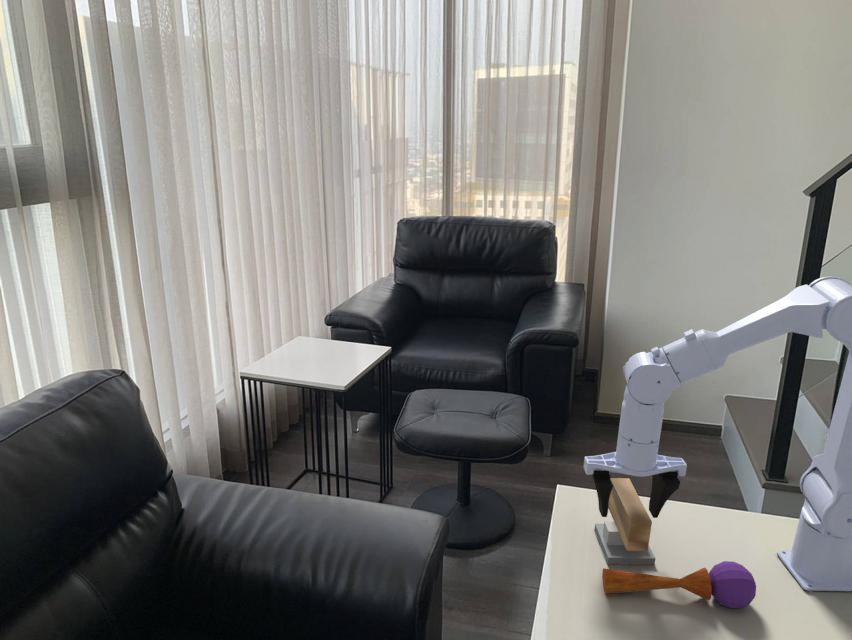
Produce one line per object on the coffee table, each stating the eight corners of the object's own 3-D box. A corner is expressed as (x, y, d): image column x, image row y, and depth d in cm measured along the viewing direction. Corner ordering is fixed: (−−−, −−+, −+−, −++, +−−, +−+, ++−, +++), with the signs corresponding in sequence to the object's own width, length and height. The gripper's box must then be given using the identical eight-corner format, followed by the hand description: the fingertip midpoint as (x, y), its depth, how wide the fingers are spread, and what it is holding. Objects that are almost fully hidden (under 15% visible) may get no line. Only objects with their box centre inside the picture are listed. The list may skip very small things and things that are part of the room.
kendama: (601, 550, 92) (746, 553, 89) (601, 588, 93) (745, 593, 90) (607, 572, 86) (763, 576, 83) (607, 613, 87) (762, 618, 84)
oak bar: (625, 505, 102) (629, 478, 101) (647, 550, 92) (652, 522, 90) (606, 504, 102) (610, 478, 101) (626, 550, 92) (631, 521, 90)
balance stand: (637, 530, 102) (640, 511, 101) (654, 565, 94) (657, 544, 93) (594, 529, 102) (596, 510, 101) (607, 564, 94) (610, 543, 93)
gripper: (679, 421, 96) (666, 498, 100) (582, 420, 96) (574, 496, 100) (697, 445, 89) (683, 526, 93) (594, 444, 89) (584, 525, 93)
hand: (627, 513), depth 96 cm, fingers open, 7 cm apart
